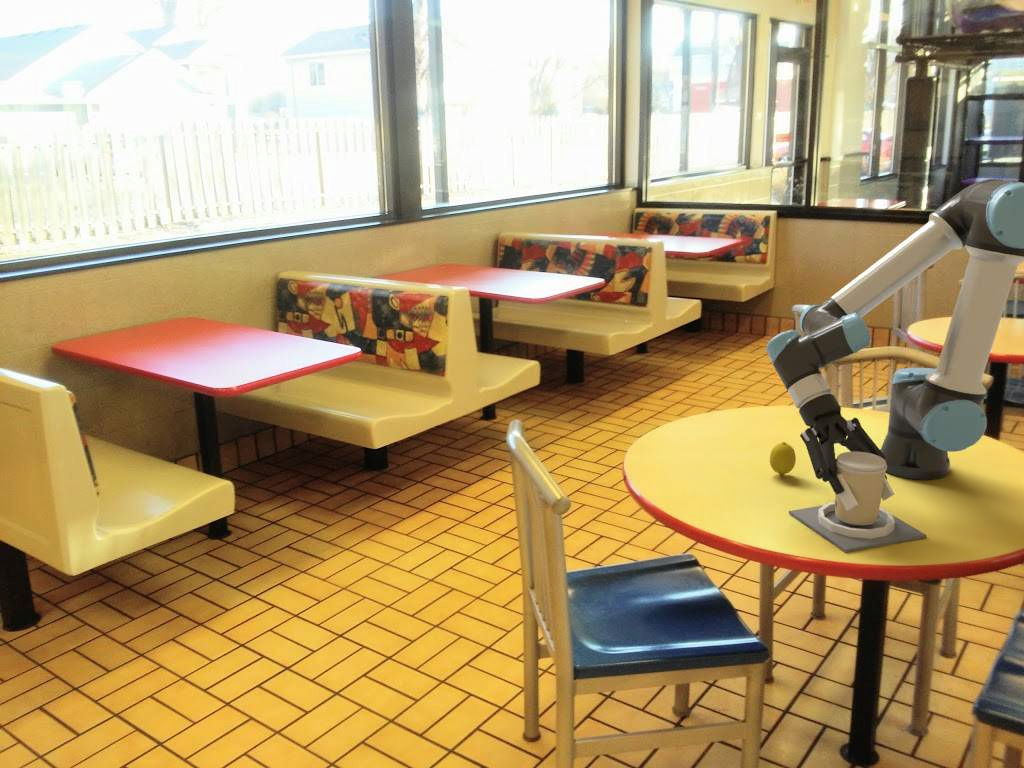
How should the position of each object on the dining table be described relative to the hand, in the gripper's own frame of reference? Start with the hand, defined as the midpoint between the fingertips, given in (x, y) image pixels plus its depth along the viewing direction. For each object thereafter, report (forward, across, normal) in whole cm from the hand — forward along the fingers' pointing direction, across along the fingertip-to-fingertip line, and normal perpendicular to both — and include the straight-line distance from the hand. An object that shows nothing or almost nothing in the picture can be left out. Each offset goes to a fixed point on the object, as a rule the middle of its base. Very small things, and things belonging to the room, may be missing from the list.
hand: (871, 502), depth 171 cm
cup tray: (+2, 0, -6) cm, 7 cm away
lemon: (-16, -6, -25) cm, 31 cm away
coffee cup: (+1, 0, -5) cm, 5 cm away
